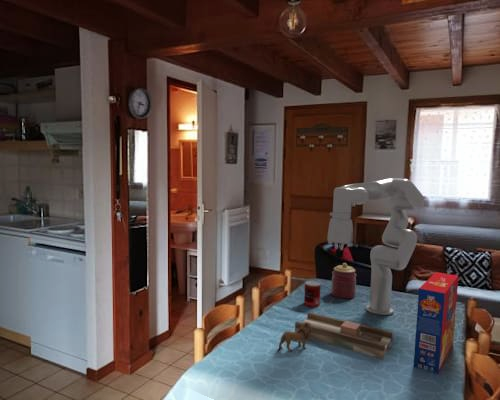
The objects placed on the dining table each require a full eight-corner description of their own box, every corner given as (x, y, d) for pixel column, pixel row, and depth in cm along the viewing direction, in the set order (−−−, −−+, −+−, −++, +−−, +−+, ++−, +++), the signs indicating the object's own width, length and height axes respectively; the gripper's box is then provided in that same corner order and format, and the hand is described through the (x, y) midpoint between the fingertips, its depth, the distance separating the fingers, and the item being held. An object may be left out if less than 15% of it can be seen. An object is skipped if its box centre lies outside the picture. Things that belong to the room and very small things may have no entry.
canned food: (319, 302, 198) (320, 281, 197) (320, 307, 190) (321, 285, 189) (303, 301, 198) (304, 280, 197) (304, 306, 190) (305, 284, 190)
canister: (357, 293, 213) (359, 261, 212) (353, 300, 202) (355, 267, 200) (333, 289, 219) (335, 258, 217) (328, 296, 207) (329, 263, 206)
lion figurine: (305, 341, 152) (306, 319, 152) (314, 347, 148) (315, 324, 147) (274, 349, 145) (274, 325, 144) (282, 355, 141) (283, 331, 140)
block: (345, 330, 157) (345, 320, 157) (360, 334, 154) (360, 324, 153) (340, 335, 152) (340, 325, 151) (355, 339, 149) (356, 329, 148)
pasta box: (438, 374, 131) (444, 293, 128) (413, 366, 135) (419, 288, 133) (452, 345, 153) (458, 275, 151) (431, 339, 158) (436, 271, 156)
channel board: (308, 323, 170) (308, 312, 170) (391, 344, 152) (392, 332, 152) (294, 334, 158) (295, 322, 158) (383, 359, 140) (384, 345, 140)
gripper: (321, 215, 168) (319, 257, 169) (356, 218, 160) (353, 262, 162) (328, 213, 174) (326, 254, 176) (361, 217, 166) (359, 259, 168)
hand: (339, 258), depth 169 cm, fingers closed
